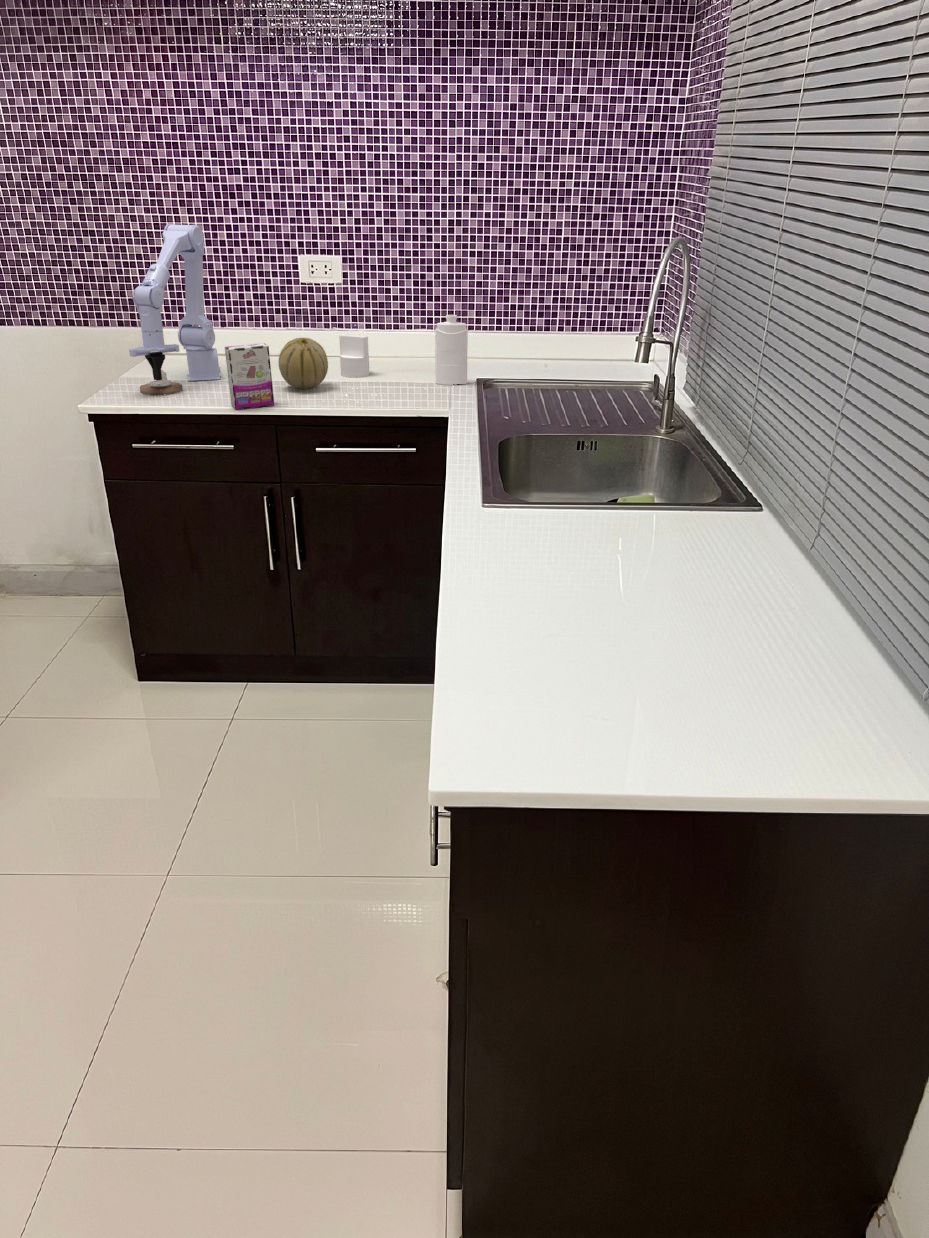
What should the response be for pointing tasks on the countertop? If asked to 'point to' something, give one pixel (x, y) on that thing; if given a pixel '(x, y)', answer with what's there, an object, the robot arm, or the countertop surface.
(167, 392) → the base
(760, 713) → the countertop surface
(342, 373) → the cylinder with rectangular tab
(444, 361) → the squeeze bottle
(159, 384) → the dial
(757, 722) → the countertop surface
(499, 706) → the countertop surface
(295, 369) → the cantaloupe
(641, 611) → the countertop surface
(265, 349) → the candy bar box
